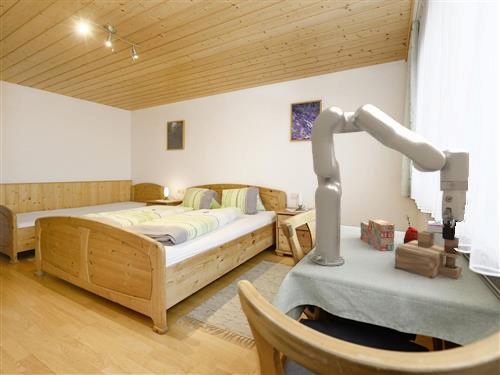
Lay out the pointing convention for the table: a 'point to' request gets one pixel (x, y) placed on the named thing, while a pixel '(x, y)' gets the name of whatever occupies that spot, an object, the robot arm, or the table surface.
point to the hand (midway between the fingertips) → (453, 237)
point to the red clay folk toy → (410, 234)
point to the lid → (426, 246)
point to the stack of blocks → (378, 234)
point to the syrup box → (436, 231)
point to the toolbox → (425, 265)
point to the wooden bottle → (451, 251)
